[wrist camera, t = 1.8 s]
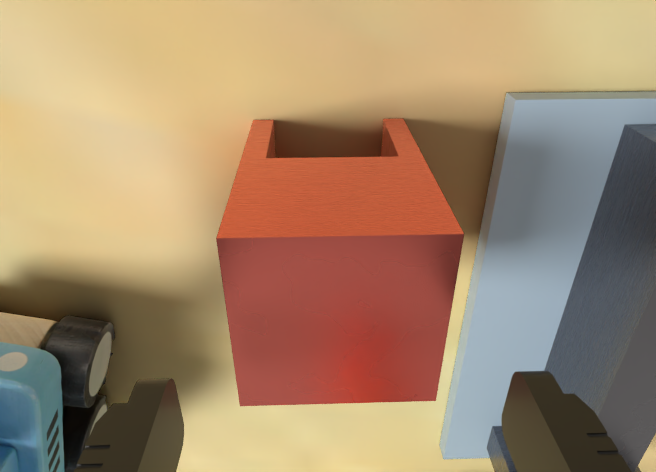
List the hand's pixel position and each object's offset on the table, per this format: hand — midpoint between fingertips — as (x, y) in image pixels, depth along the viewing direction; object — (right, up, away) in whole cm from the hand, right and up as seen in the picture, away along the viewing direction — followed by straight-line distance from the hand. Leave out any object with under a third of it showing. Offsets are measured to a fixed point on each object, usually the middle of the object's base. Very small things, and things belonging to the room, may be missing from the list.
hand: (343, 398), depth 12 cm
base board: (+13, 0, +13) cm, 18 cm away
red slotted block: (0, +6, +9) cm, 11 cm away
